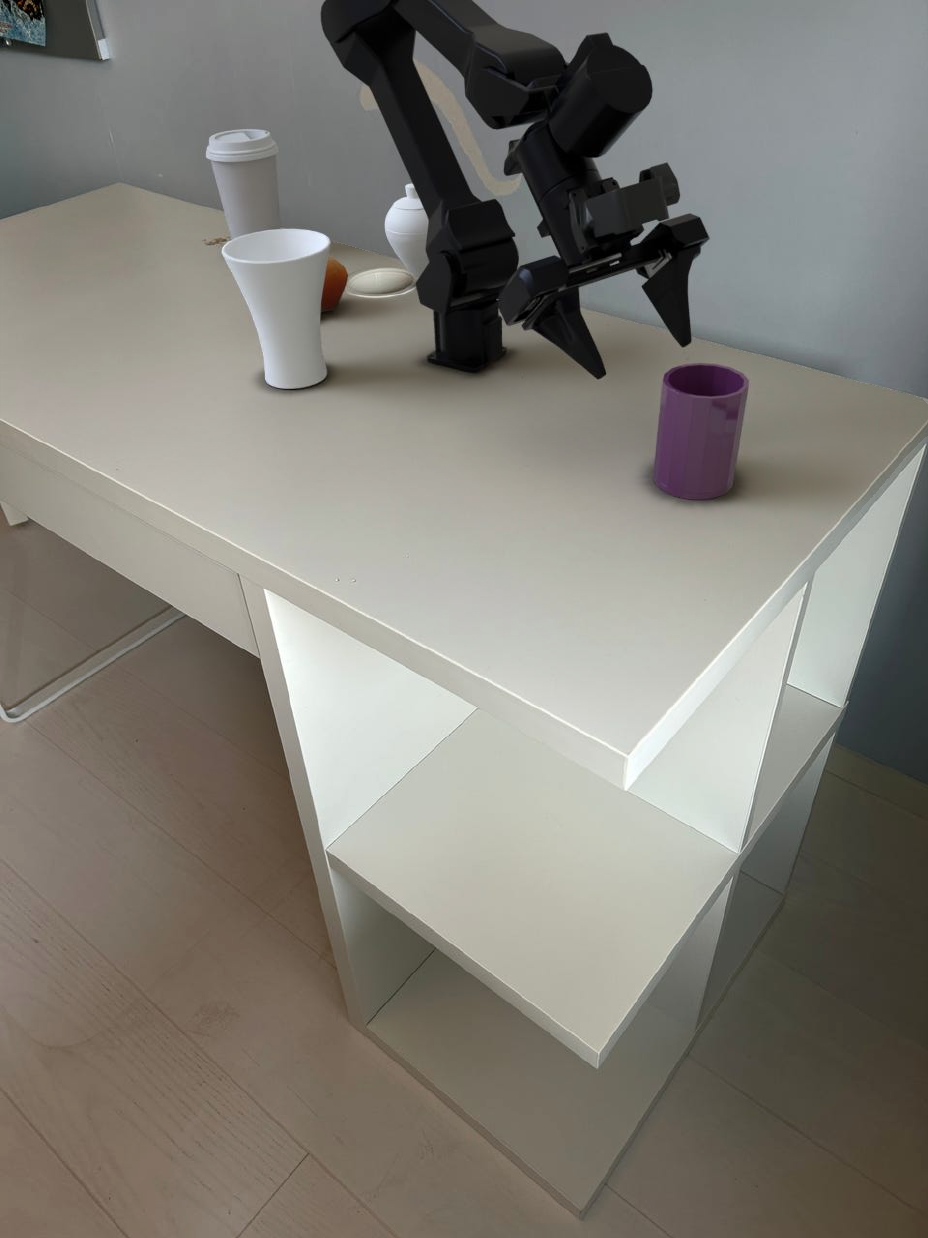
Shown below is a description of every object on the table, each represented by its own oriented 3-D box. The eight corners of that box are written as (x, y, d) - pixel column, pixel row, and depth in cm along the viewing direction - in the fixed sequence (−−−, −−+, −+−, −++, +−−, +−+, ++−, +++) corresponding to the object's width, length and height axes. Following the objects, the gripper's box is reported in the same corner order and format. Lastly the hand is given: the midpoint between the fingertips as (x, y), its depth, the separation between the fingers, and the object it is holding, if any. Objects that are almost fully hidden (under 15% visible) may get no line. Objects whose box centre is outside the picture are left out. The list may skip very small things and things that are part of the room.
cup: (355, 388, 97) (339, 253, 89) (252, 405, 95) (226, 268, 87) (336, 350, 105) (320, 223, 97) (241, 364, 103) (216, 235, 95)
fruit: (260, 310, 111) (269, 240, 110) (294, 324, 119) (303, 258, 118) (321, 318, 109) (331, 246, 108) (352, 331, 116) (361, 264, 115)
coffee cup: (287, 262, 130) (269, 142, 120) (218, 264, 130) (194, 145, 121) (297, 241, 137) (281, 126, 128) (232, 243, 138) (211, 128, 128)
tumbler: (649, 495, 79) (659, 394, 73) (657, 457, 84) (667, 360, 78) (731, 503, 77) (747, 401, 72) (734, 464, 82) (749, 365, 77)
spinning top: (439, 297, 117) (434, 194, 110) (381, 293, 119) (372, 191, 111) (456, 276, 123) (452, 177, 115) (400, 273, 125) (393, 175, 117)
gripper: (513, 158, 69) (602, 354, 69) (707, 108, 76) (787, 286, 76) (462, 237, 79) (540, 408, 79) (636, 187, 86) (708, 344, 86)
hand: (645, 360), depth 80 cm, fingers open, 9 cm apart
